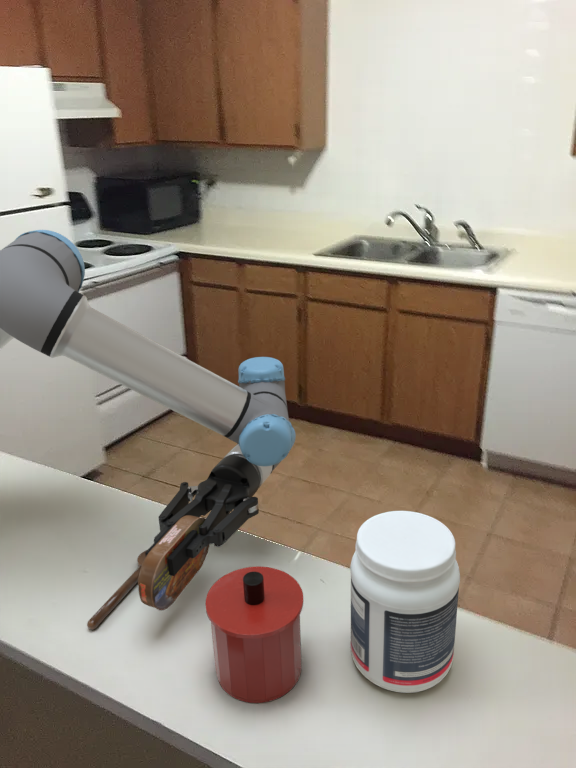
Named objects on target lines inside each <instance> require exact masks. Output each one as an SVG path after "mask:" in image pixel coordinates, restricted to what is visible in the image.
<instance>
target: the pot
mask: <svg viewBox="0 0 576 768" xmlns="http://www.w3.org/2000/svg"><path fill="white" fill-rule="evenodd" d="M210 627H211V628H210V629H211V638H212V648H213V657H214V667H215V674H216V677H217V681H218V683H219V686H220V687H221V688H222V690H223V691H224V692H225V693H227V695H229V696H230V697H232V698H233V699H235V700H238V701H241V702H244V703H249V704H262V703H263V704H264V703H269V702H272V701H276V700H277V699H281V698H282V697H283V696H285V695H286V694H288V693H289V692H290V691H291V690H293V688H294V687H295V686H296V685H297V683H298V681H299V679H300V677H301V673H302V640H301V638H302V637H301V614H300V615H299V617H298V618H297V620H296V621H295V622H294V623H293V624H292V625H291V626H289V627H288V628H286V629H285V630H283V631H281V632H279V633H277V634H275V635H272V636H268V637H264V638H257V639H244V638H238V637H233V636H230V635H228V634H225V633H223V632H222V631H220V630H219V629H217V628H216V627H215V626H214V625H213V624H212V623H211V622H210Z"/></svg>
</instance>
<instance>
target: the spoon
mask: <svg viewBox="0 0 576 768" xmlns="http://www.w3.org/2000/svg"><path fill="white" fill-rule="evenodd" d="M147 550H148V549H146V550H144V551H142V552H140V554H138V557H137V560H136V561H137V566H138V567H137V568H136V569H135V570H134V571H133V572H132V573H131V574H130V576H129V577H128V578H127V579H126V580H125V581H123V582H122V585H120V587H118V588H117V589H116V590H115V592H114V593H113V594H112V595H111V596H110V597H109V598H108V599H107V600H106V601H105V602H104V604H103V605H101V607H99V609H98V610H97V611H96V612H95V613H94V614H93V615H92V616H91V618H90V619H89V620H88V621H87V623H86V627H87V628H88V629H89V630H92V631H93V630H96V629H97V628H98V626H100V624H101V623H102V622H103V621H104V620H105V619H106V618H107V616H109V614H110V613H111V612H112V611H113V610H114V609H115V608H116V607H117V606H118V604H119V603H121V601H123V599H124V598H125V597H126V596H127V595H128V593H130V591H131V590H132V589H133V588H134V587H135V586H136V584H138V577H139V572H140V569H141V566H142V564H143V561H144V559H145V558H146V555H145V552H146V551H147Z"/></svg>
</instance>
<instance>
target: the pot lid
mask: <svg viewBox="0 0 576 768" xmlns="http://www.w3.org/2000/svg"><path fill="white" fill-rule="evenodd" d="M303 608H304V592H303V589H302V587H301V585H300V584H299V582H298V581H297V580H296V579H295V578H294V577H293V576H292V575H291V574H289V573H287V572H286V571H283V570H282V569H279V568H275V567H270V566H269V567H268V566H261V565H258V566H257V565H256V566H247V567H242V568H239V569H235V570H233V571H230V572H227V573H226V574H224V575H223V576H221V577H219V578H218V580H216V581H215V582H214V583H213V584H212V585H211V587H210V589H209V590H208V592H207V593H206V597H205V612H206V615H207V618H208V620H209V622H210V624H211V623H212V624H213V625H214V626H215V627H216V628H217V629H219V630H220V631H222V632H223V633H225V634H228V635H230V636H233V637H238V638H244V639H257V638H264V637H268V636H272V635H275V634H277V633H279V632H281V631H283V630H285V629H286V628H288V627H289V626H291V625H292V624H293V623H294V622H295V621H296V620H297V618H298V617H299V615H300V616H301V613H302V611H303Z"/></svg>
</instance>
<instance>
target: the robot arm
mask: <svg viewBox="0 0 576 768" xmlns="http://www.w3.org/2000/svg"><path fill="white" fill-rule="evenodd" d="M85 276H86V267H85V262H84V258H83V256H82V254H81V252H80V249H78V247H77V246H76V245H75V244H74V243H73V242H72V241H71V240H70V239H68V237H66V236H64V235H62V234H61V233H60V232H57V231H53V230H49V229H35V230H29V231H27V232H23V233H21V234H20V235H19V236H17V237H16V238H15V239H14V240H13V241H12V242H10V243H8V244H6V246H4V247H3V248H2V249H0V351H1V350H2V349H4V347H5V346H7V345H8V344H9V343H10V342H11V341H13V339H15V340H17V341H19V342H20V343H22V344H24V345H26V346H28V347H30V348H31V349H33V350H34V351H36V352H39V353H41V354H43V355H45V356H47V357H49V358H51V359H53V358H58V357H62V356H63V357H66V358H68V359H70V360H72V361H74V362H76V363H78V364H80V365H82V366H84V367H86V368H88V369H90V370H92V371H94V372H95V373H97V374H100V375H102V376H103V377H106V378H108V379H110V380H112V381H113V382H116V383H118V384H120V385H121V386H123V387H125V388H127V389H130V390H132V391H133V392H136V393H137V394H140V395H141V396H144V397H146V398H148V399H149V400H152V401H153V402H155V403H157V404H159V405H162V406H164V407H165V408H167V409H169V410H172V411H173V412H174V413H177V414H179V415H181V416H183V417H185V418H187V419H189V420H191V421H193V422H195V423H197V424H199V425H200V426H203V427H205V428H207V429H209V430H211V431H212V432H215V433H217V434H219V435H221V436H223V437H225V438H226V439H228V440H230V441H232V442H234V443H235V444H236V445H235V446H233V448H231V450H229V452H228V453H226V454H225V456H223V458H221V460H220V461H219V462H218V463H217V464H216V465H215V466H214V467H213V468H212V469H211V471H210V472H209V475H208V477H207V478H206V479H205V480H203V481H201V482H199V483H198V485H191V486H189V482H187V481H182V482H181V483H180V485H179V489H178V491H177V493H175V495H174V496H173V498H172V499H171V500H170V501H169V503H168V504H166V506H165V507H164V509H163V510H162V512H161V513H160V514H159V515H158V523H159V524H158V526H159V532H158V533H157V534H156V535H155V537H154V538H153V544H152V545H151V546H150V547H149V548H148V549H146V550H147V551H146V550H145V551H146V552H145V555H146V556H147V554H148V553H149V552H150V551H151V549H152V548H153V547H154V546H155V545H156V544H157V543H158V542H159V541H160V540H161V538H162V537H163V536H164V535H165V534H166V533H167V532H168V531H169V530H170V529H171V528H172V527H173V525H174V524H175V523H176V522H177V521H178V520H179V519H180V518H182V517H183V516H186V515H191V516H196V517H202V516H203V517H205V516H206V515H207V516H206V517H205V519H206V520H205V521H204V523H203V524H202V525H201V527H200V525H199V534H198V532H197V531H196V530H192V531H191V532H190V533H189V534H188V535H187V536H186V538H185V539H184V540H183V541H182V542H181V543H180V544H179V545H178V547H177V548H176V549H175V550H174V551H173V552H172V553H171V554H170V556H169V557H168V558H167V562H168V569H169V575H171V576H175V575H176V574H177V572H178V571H179V570H180V569H181V568H182V567H183V565H184V564H185V563H186V562H187V561H188V559H189V558H195V557H196V556H197V555H198V554H199V553H200V552H201V550H202V549H203V548H204V547H206V546H208V545H209V544H210V545H214V547H216V548H221V547H222V546H224V544H225V543H226V542H227V541H228V540H229V539H230V538H231V537H232V536H233V535H235V533H236V532H237V531H238V530H239V529H240V528H241V527H242V526H243V525H244V524H245V523H246V522H247V521H248V520H249V519H251V518H253V517H255V516H257V515H258V514H260V513H259V512H260V508H259V498H258V497H257V496H255V494H256V493H257V492H258V490H259V489H260V488H261V487H262V485H263V484H264V483H265V482H266V480H267V479H268V478H269V477H270V476H271V474H272V473H273V472H274V470H275V469H276V468H277V467H278V466H279V464H280V463H281V462H282V461H284V460H285V459H286V457H287V456H288V455H289V454H290V451H291V450H292V448H293V447H294V444H295V443H296V437H297V436H296V435H297V434H296V430H295V428H294V426H293V424H292V422H291V421H290V418H289V410H288V403H287V395H286V382H285V381H286V377H285V370H284V364H283V363H282V362H281V361H280V360H279V359H277V358H274V357H270V356H255V357H251V358H248V359H246V360H243V361H242V362H241V363H240V365H238V380H237V384H238V385H237V384H235V383H233V382H231V381H230V380H228V379H226V378H224V377H222V376H221V375H218V374H216V373H215V372H213V371H211V370H209V369H207V368H205V367H203V366H202V365H200V364H198V363H196V362H194V361H192V360H190V359H189V358H187V357H185V356H183V355H181V354H179V353H177V352H176V351H173V350H171V349H170V348H168V347H166V346H164V345H162V344H160V343H158V342H156V341H155V340H153V339H152V338H149V337H147V336H145V335H144V334H142V333H140V332H138V331H136V330H135V329H132V328H130V327H129V326H127V325H125V324H123V323H121V322H119V321H117V320H115V319H114V318H112V317H110V316H108V315H106V314H104V313H103V312H101V311H99V310H97V309H95V308H93V307H91V305H90V304H89V301H88V298H87V296H86V295H85V294H83V293H81V292H80V290H81V289H82V287H83V284H84V280H85ZM210 545H209V546H210Z"/></svg>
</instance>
